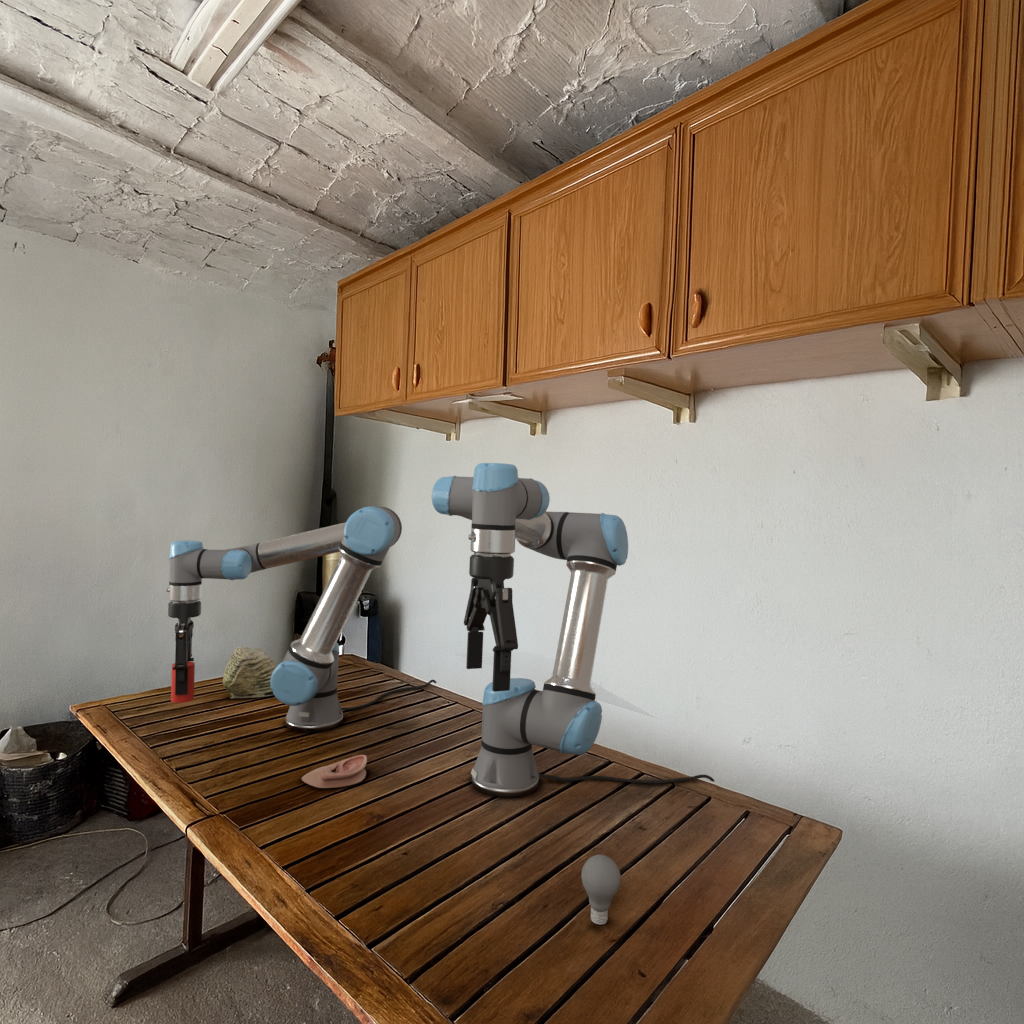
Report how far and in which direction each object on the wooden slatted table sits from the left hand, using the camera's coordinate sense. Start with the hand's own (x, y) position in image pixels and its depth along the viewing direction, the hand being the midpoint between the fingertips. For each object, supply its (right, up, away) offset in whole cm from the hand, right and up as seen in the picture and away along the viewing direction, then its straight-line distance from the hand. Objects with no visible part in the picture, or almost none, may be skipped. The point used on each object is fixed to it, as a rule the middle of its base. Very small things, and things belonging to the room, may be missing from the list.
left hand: (182, 690), depth 163 cm
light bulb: (+98, -17, -66) cm, 119 cm away
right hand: (+80, +18, -55) cm, 99 cm away
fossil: (+4, -11, +35) cm, 37 cm away
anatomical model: (+45, -14, -20) cm, 51 cm away
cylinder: (0, -2, 0) cm, 2 cm away
